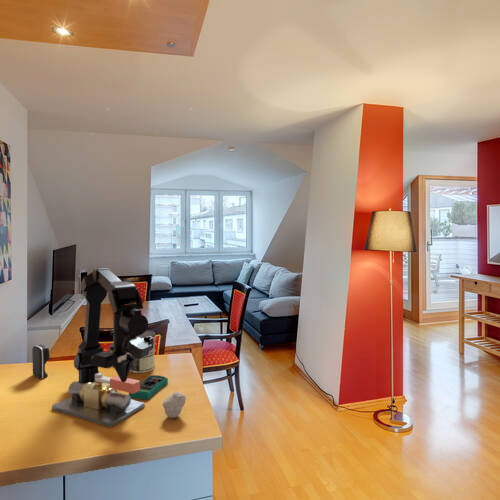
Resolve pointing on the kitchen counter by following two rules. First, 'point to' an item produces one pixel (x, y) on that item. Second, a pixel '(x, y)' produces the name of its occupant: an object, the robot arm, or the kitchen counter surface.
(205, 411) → the kitchen counter surface
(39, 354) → the battery charger
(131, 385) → the lever
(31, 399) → the kitchen counter surface
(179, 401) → the pale grey rock
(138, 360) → the coffee can
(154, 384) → the digital multimeter
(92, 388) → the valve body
